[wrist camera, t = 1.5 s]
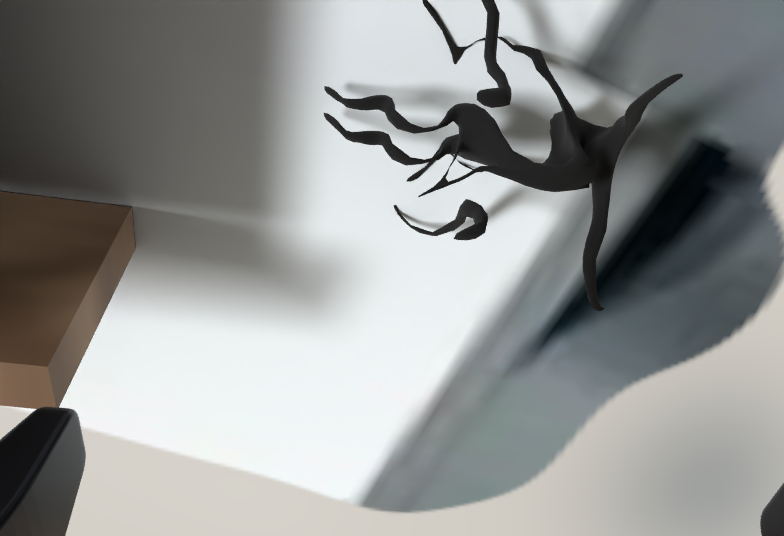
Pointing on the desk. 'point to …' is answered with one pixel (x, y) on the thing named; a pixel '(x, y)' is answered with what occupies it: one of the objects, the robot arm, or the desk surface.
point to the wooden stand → (54, 289)
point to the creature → (489, 147)
